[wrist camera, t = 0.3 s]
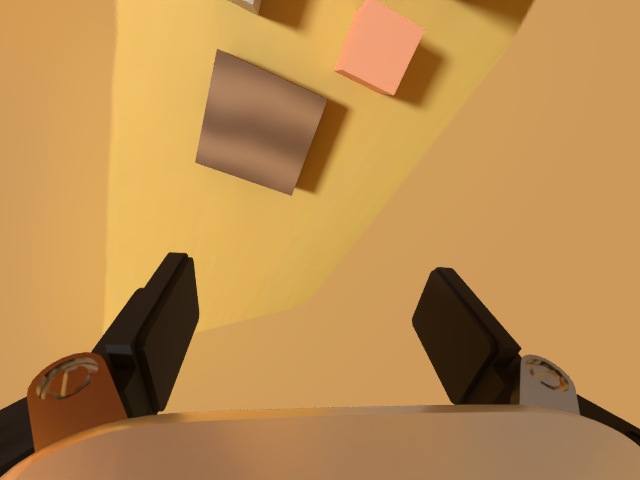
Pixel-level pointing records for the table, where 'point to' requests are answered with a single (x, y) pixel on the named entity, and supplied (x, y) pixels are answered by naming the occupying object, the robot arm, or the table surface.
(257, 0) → the grey cube
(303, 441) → the robot arm
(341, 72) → the terracotta cube
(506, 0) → the table surface
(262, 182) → the walnut block
